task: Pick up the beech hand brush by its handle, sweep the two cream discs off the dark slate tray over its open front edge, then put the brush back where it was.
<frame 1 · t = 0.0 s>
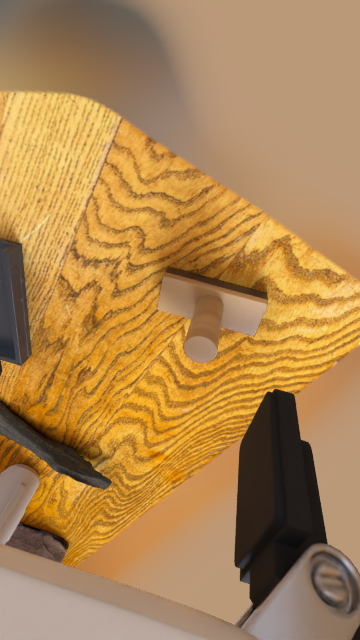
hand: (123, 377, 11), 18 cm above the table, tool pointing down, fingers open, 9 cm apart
stone block: (33, 538, 70), on the table
cable organizer: (19, 475, 55), on the table
tool: (49, 441, 48), on the table
brush: (212, 296, 29), on the table
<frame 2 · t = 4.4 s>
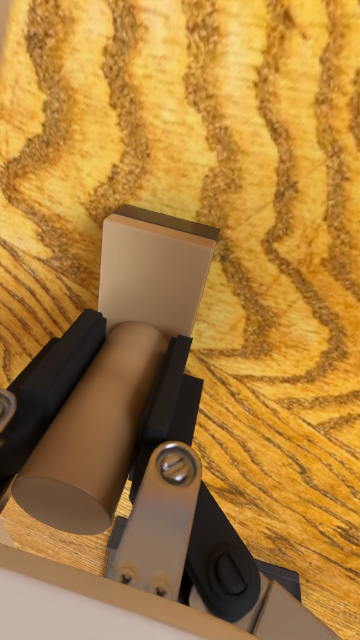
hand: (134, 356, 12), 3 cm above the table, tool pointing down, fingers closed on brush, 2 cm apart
tray: (186, 578, 28), on the table
brush: (153, 319, 14), on the table, touching gripper
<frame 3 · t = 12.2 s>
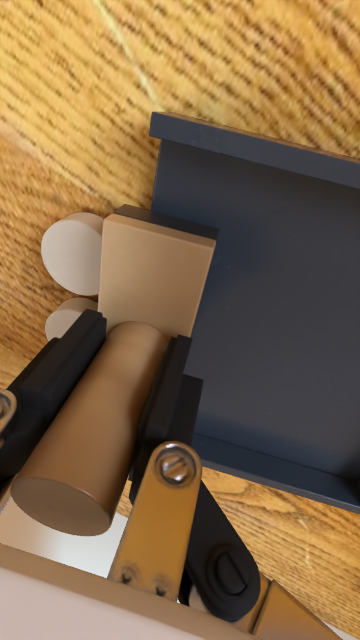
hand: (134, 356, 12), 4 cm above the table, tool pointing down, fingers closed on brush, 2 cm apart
disc a: (87, 325, 16), on the table
tray: (289, 345, 14), on the table
disc b: (90, 250, 14), on the table, touching brush
brush: (153, 319, 14), point 1 cm above the table, touching disc b, gripper
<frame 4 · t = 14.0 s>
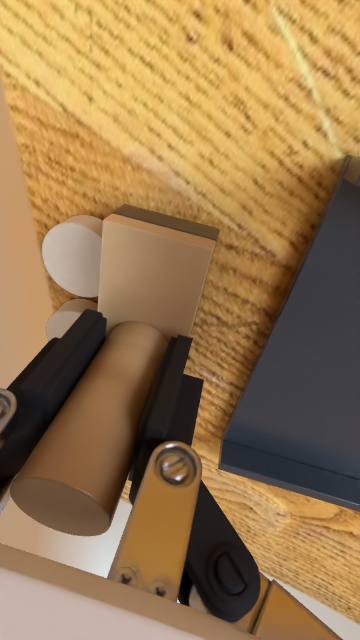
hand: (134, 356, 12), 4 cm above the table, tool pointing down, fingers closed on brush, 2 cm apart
disc a: (88, 326, 16), on the table, touching brush
disc b: (91, 252, 14), on the table, touching brush
brush: (152, 319, 14), point 1 cm above the table, touching disc a, disc b, gripper
when the fingers open (2 cm above the table, at t = 20.6 s): brush stays where it is, on the table.
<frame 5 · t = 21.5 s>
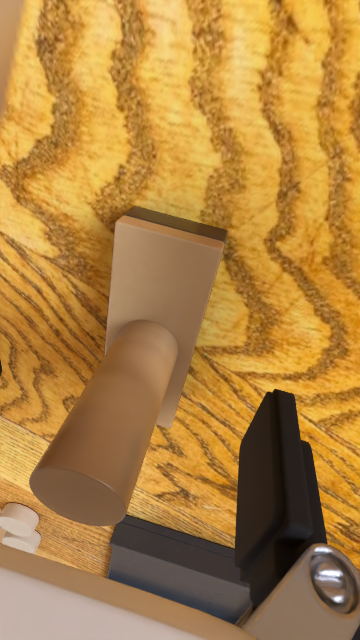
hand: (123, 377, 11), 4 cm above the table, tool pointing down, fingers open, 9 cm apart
disc a: (26, 532, 30), on the table
tray: (187, 575, 28), on the table
disc b: (22, 512, 28), on the table
brush: (160, 318, 14), on the table
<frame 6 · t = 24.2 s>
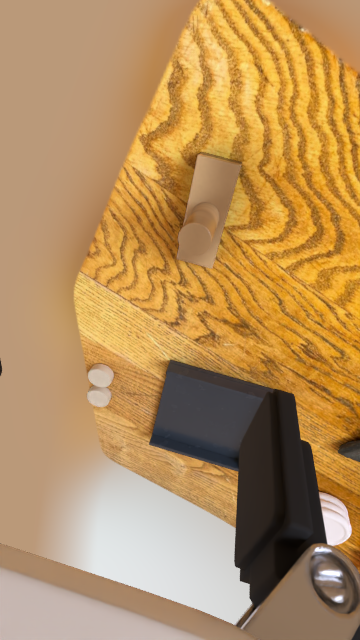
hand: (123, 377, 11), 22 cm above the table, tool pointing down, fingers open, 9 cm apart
disc a: (100, 392, 45), on the table
tray: (210, 414, 43), on the table
coaster: (311, 505, 50), on the table
disc b: (102, 372, 43), on the table
brush: (208, 210, 29), on the table
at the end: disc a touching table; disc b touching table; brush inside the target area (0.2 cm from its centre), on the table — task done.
